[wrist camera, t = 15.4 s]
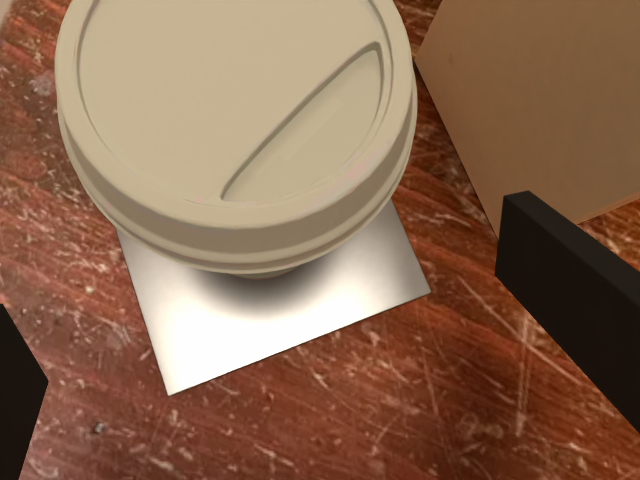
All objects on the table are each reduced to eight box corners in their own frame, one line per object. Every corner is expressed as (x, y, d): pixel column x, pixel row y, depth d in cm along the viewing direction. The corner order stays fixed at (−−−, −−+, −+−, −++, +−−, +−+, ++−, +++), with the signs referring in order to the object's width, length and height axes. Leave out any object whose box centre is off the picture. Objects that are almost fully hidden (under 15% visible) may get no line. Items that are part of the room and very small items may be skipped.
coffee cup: (185, 336, 20) (66, 311, 9) (141, 151, 22) (-8, -76, 10) (378, 280, 22) (496, 194, 10) (322, 109, 23) (369, -135, 12)
